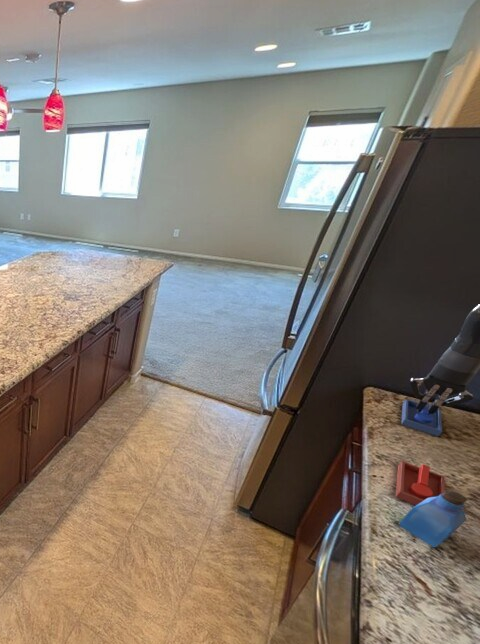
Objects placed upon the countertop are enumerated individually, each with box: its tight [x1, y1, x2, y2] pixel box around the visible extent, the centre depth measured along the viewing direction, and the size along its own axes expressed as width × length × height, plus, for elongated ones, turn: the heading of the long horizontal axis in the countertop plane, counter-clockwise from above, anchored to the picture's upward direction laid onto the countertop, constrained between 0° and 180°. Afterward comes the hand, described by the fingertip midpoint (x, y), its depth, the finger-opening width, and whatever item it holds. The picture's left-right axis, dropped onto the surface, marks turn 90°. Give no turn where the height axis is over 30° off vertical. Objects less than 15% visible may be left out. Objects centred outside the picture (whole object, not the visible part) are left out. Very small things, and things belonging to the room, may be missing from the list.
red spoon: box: [410, 463, 433, 499], centre depth 97 cm, size 11×4×2 cm, turn 134°
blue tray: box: [400, 398, 443, 437], centre depth 119 cm, size 14×8×2 cm, turn 134°
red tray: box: [395, 460, 446, 506], centre depth 97 cm, size 14×8×2 cm, turn 134°
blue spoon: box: [415, 402, 434, 423], centre depth 118 cm, size 11×4×2 cm, turn 135°
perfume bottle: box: [397, 489, 468, 548], centre depth 84 cm, size 6×6×12 cm
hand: (423, 411), depth 119 cm, fingers closed on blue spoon, 1 cm apart
